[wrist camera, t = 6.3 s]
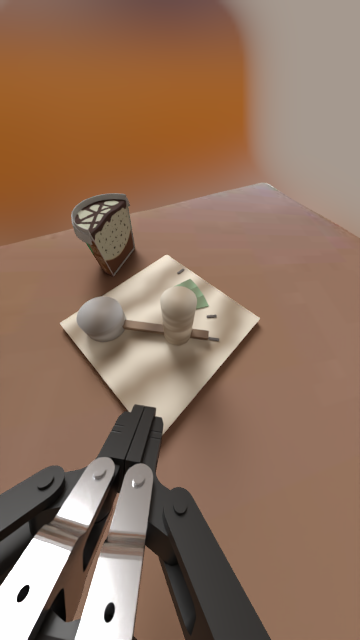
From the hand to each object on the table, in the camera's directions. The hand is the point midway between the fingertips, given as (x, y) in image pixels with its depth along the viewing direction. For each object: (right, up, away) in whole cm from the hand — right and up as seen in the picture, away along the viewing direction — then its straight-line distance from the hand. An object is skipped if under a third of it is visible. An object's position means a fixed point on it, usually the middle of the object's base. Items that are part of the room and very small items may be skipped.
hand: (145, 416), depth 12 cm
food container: (-12, +20, +24) cm, 34 cm away
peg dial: (-3, +5, +14) cm, 15 cm away
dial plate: (0, +6, +16) cm, 17 cm away
